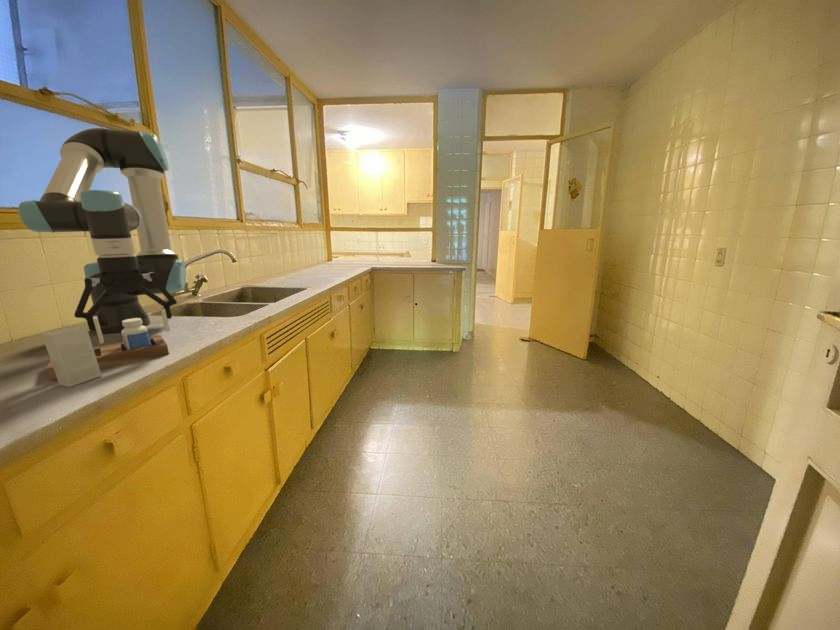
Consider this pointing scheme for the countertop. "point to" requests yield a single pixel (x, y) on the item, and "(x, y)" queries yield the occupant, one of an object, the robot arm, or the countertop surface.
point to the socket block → (123, 354)
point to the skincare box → (72, 355)
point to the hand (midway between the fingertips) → (136, 336)
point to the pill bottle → (135, 334)
